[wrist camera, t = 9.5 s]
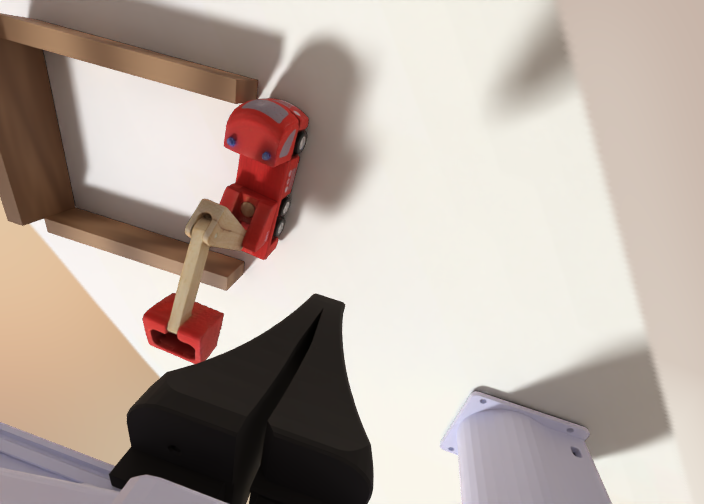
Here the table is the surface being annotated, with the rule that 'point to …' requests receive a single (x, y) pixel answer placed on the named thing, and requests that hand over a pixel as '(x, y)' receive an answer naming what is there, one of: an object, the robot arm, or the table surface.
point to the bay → (47, 150)
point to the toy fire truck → (233, 221)
